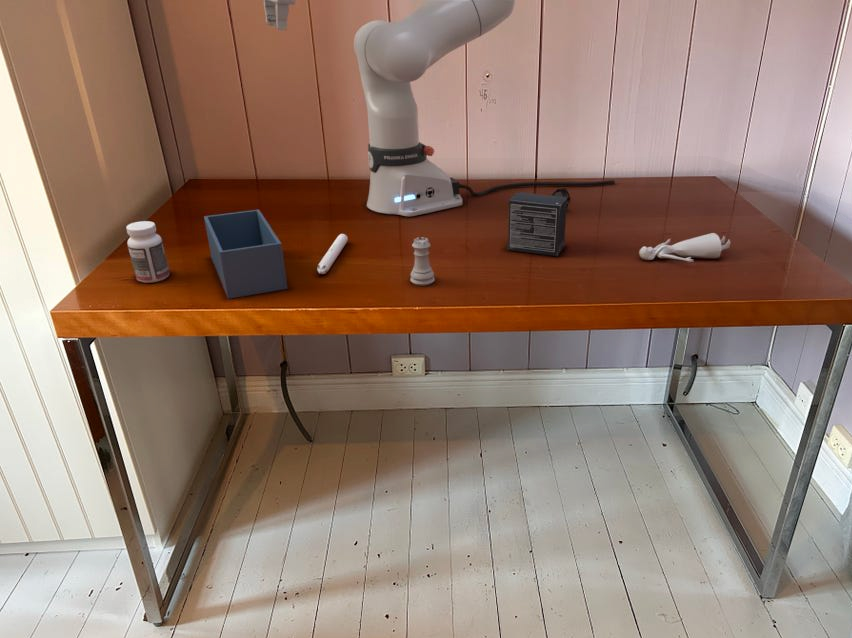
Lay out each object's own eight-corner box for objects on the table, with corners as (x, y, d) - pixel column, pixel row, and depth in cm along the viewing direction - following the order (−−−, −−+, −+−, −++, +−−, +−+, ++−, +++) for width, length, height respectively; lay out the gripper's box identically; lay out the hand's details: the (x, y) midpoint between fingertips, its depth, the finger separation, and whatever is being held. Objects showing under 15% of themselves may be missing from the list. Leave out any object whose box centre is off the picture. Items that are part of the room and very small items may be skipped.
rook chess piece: (414, 288, 128) (413, 245, 124) (406, 278, 132) (405, 237, 128) (438, 284, 130) (437, 242, 126) (429, 275, 133) (428, 233, 129)
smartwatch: (568, 207, 169) (569, 186, 167) (569, 214, 165) (571, 192, 162) (550, 206, 169) (551, 185, 167) (551, 213, 165) (553, 192, 162)
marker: (325, 278, 132) (324, 266, 131) (314, 278, 132) (313, 266, 131) (348, 243, 147) (347, 232, 146) (338, 243, 148) (337, 232, 146)
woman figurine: (742, 243, 136) (650, 254, 134) (739, 264, 139) (649, 276, 137) (715, 222, 146) (629, 232, 144) (712, 243, 148) (628, 253, 147)
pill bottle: (166, 269, 135) (154, 218, 130) (173, 279, 131) (161, 227, 126) (133, 275, 132) (120, 223, 127) (139, 286, 128) (126, 232, 123)
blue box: (265, 250, 143) (259, 209, 139) (287, 288, 128) (281, 243, 123) (211, 258, 140) (203, 216, 135) (228, 298, 124) (219, 252, 120)
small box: (565, 246, 147) (569, 195, 142) (557, 257, 142) (561, 205, 136) (515, 239, 150) (517, 190, 145) (506, 250, 145) (507, 199, 139)
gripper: (304, -51, 128) (305, 33, 135) (279, -52, 144) (281, 24, 151) (267, -56, 126) (270, 31, 132) (247, -56, 142) (250, 21, 148)
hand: (276, 27), depth 141 cm, fingers open, 8 cm apart
